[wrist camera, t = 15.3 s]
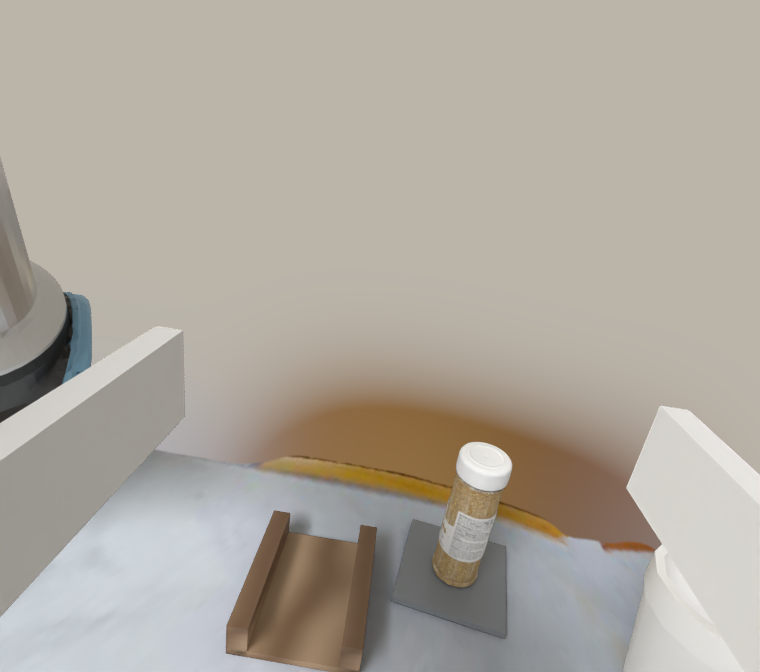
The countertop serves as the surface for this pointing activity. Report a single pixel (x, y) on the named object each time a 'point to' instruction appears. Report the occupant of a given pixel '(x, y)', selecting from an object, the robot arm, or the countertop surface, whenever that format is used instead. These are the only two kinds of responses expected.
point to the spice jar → (470, 512)
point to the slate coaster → (460, 605)
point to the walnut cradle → (304, 600)
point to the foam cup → (674, 627)
